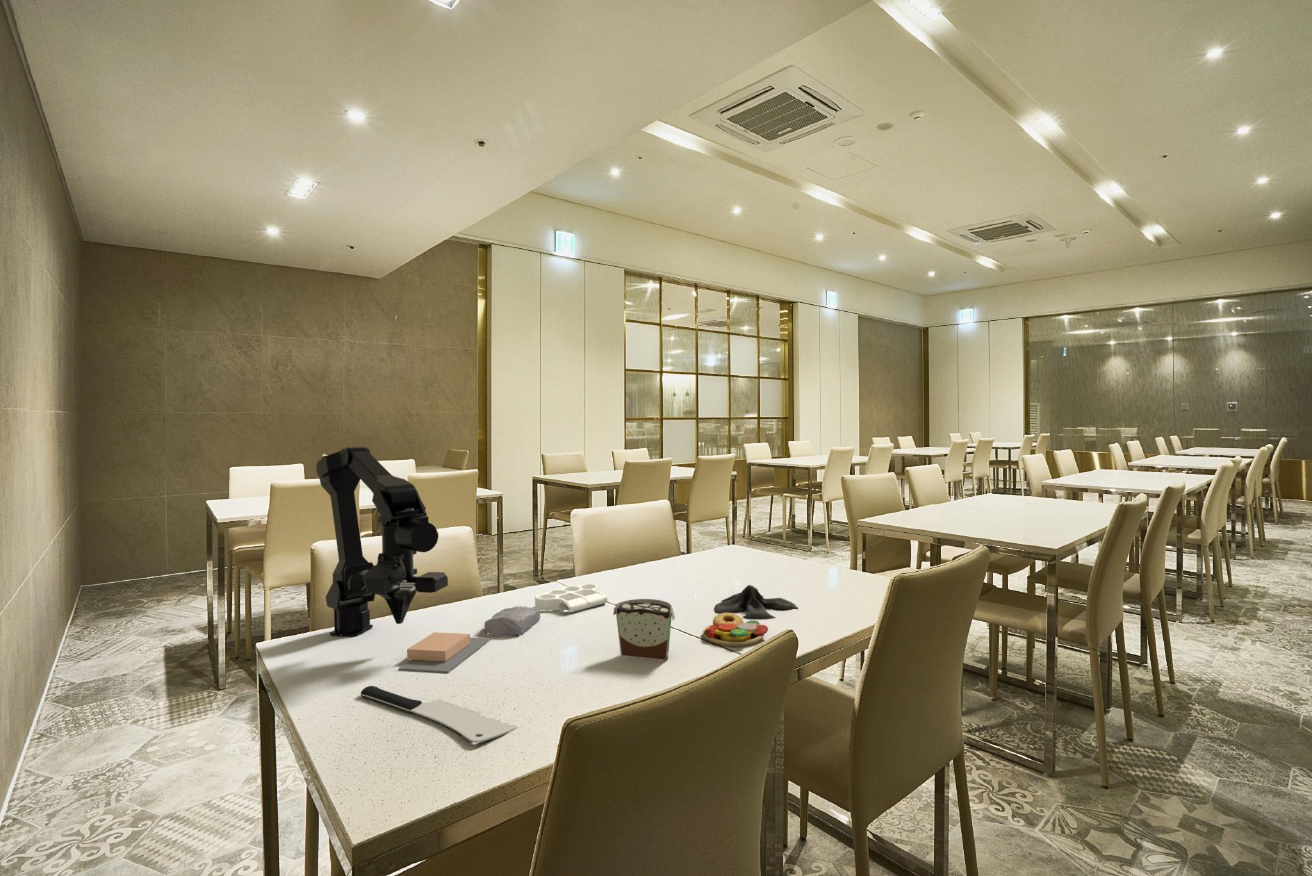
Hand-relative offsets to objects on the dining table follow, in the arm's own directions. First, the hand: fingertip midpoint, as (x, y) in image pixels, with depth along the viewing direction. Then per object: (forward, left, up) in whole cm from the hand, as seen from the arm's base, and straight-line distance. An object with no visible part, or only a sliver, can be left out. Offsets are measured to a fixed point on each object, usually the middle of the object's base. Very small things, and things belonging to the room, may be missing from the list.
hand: (399, 623), depth 129 cm
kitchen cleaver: (+21, -24, -6) cm, 32 cm away
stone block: (+16, +18, -6) cm, 25 cm away
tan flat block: (+5, 0, -4) cm, 6 cm away
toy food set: (+66, +18, -6) cm, 69 cm away
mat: (+10, 0, -6) cm, 12 cm away
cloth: (+68, +40, -7) cm, 79 cm away
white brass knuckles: (+24, +37, -6) cm, 45 cm away
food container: (+50, +6, -6) cm, 51 cm away
